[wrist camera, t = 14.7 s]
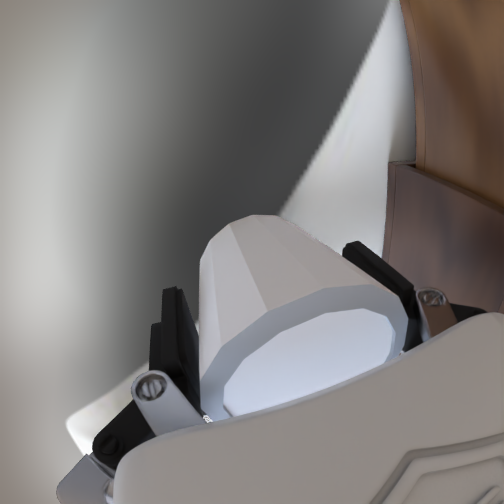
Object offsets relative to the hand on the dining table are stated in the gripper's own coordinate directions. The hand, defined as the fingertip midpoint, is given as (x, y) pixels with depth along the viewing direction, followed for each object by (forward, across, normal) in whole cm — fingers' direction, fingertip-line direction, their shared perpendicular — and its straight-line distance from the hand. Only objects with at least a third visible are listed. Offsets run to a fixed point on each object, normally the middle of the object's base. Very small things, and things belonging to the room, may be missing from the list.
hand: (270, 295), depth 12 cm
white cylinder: (+2, 0, 0) cm, 2 cm away
